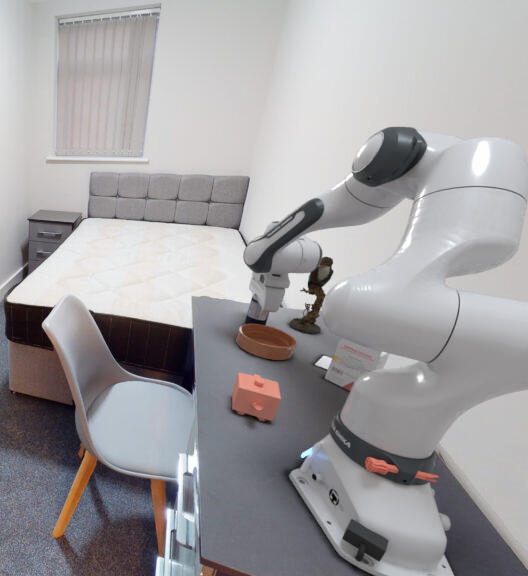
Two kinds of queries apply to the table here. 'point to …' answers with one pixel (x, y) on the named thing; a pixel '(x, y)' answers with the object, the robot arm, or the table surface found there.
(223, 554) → the table surface
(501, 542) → the table surface
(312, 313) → the sculpture
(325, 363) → the white box
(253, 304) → the beverage can
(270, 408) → the pink cube teapot
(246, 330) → the orange round dish
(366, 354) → the ink cartridge box
